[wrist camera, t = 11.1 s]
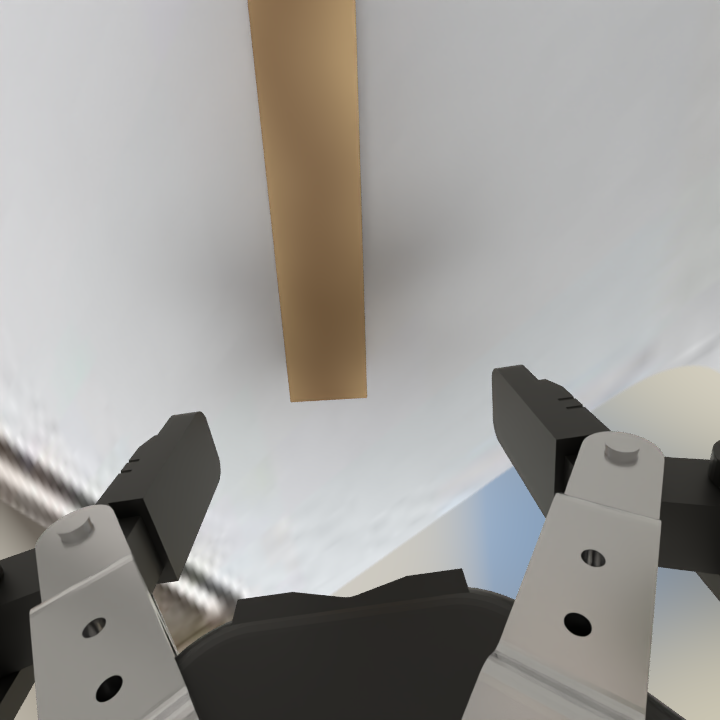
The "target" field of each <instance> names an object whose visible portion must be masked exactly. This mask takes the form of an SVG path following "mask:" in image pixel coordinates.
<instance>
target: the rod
mask: <svg viewBox="0 0 720 720" xmlns="http://www.w3.org/2000/svg"><path fill="white" fill-rule="evenodd" d="M248 10H249V19H250V28H251V38H252V47H253V56H254V66H255V75H256V84H257V93H258V103H259V112H260V121H261V131H262V140H263V149H264V159H265V168H266V177H267V187H268V196H269V205H270V214H271V224H272V233H273V242H274V252H275V261H276V270H277V280H278V289H279V298H280V308H281V317H282V326H283V336H284V345H285V354H286V363H287V373H288V382H289V391H290V401H291V402H302V401H319V400H336V399H352V398H367V381H366V347H365V313H364V280H363V246H362V212H361V178H360V145H359V111H358V77H357V43H356V10H355V0H248Z"/></svg>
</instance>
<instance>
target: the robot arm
mask: <svg viewBox="0 0 720 720" xmlns="http://www.w3.org/2000/svg"><path fill="white" fill-rule="evenodd" d="M492 400H493V424H494V429H495V433H496V436H497V439H498V441H499V443H500V444H501V446H502V448H503V449H504V451H505V453H506V454H507V456H508V457H509V459H510V461H511V462H512V464H513V466H514V467H515V469H516V470H517V472H518V474H519V475H520V477H521V479H522V480H523V482H524V484H525V485H526V487H527V489H528V490H529V492H530V493H531V495H532V497H533V498H534V500H535V502H536V503H537V505H538V507H539V508H540V510H541V511H542V513H543V515H544V516H545V518H546V520H545V523H544V525H543V528H542V531H541V533H540V536H539V538H538V541H537V544H536V546H535V549H534V552H533V554H532V557H531V559H530V562H529V565H528V567H527V570H526V573H525V576H524V578H523V581H522V583H521V586H520V589H519V591H518V594H517V596H516V599H515V600H514V599H511V598H509V597H507V596H504V595H501V594H498V593H495V592H492V591H487V590H483V589H478V588H471V587H468V586H467V583H466V580H465V577H464V573H463V571H462V569H454V570H447V571H441V572H433V573H425V574H418V575H411V576H406V577H403V578H400V579H398V580H395V581H393V582H390V583H387V584H385V585H382V586H380V587H377V588H374V589H372V590H369V591H366V592H364V593H361V594H359V595H356V596H353V597H335V596H326V595H316V594H306V593H297V592H289V593H282V594H275V595H268V596H261V597H254V598H246V599H239V600H238V601H237V605H236V609H235V613H234V617H233V621H230V622H228V623H225V624H223V625H221V626H219V627H217V628H215V629H213V630H212V631H210V632H208V633H207V634H205V635H204V636H202V637H200V638H199V639H197V640H196V641H195V642H193V643H192V644H191V645H189V646H188V647H187V648H186V649H184V650H183V651H182V652H181V653H180V654H178V651H177V649H176V647H175V644H174V642H173V640H172V638H171V635H170V633H169V631H168V628H167V626H166V624H165V621H164V619H163V617H162V614H161V612H160V610H159V608H158V605H157V603H156V601H155V599H154V597H153V594H152V593H153V591H154V588H155V586H156V584H160V583H167V582H174V581H178V580H179V578H180V575H181V573H182V571H183V568H184V566H185V563H186V561H187V558H188V556H189V553H190V551H191V549H192V546H193V544H194V541H195V539H196V536H197V534H198V531H199V529H200V527H201V524H202V522H203V519H204V517H205V514H206V512H207V509H208V507H209V505H210V502H211V500H212V497H213V495H214V492H215V490H216V487H217V485H218V483H219V479H220V472H221V471H220V461H219V457H218V454H217V451H216V447H215V444H214V441H213V438H212V435H211V432H210V429H209V426H208V423H207V420H206V417H205V416H204V414H203V413H202V412H200V411H199V412H192V413H186V414H179V415H173V416H171V417H170V418H169V420H168V421H167V423H166V424H165V425H164V427H163V428H162V429H161V431H160V432H159V434H158V435H156V436H153V437H152V438H151V439H150V440H148V441H147V442H146V443H144V444H143V445H142V446H140V447H139V448H138V449H137V451H136V452H135V453H134V454H133V456H132V457H131V458H130V460H129V463H127V464H126V465H125V466H124V468H123V469H122V470H121V474H118V475H117V477H116V478H115V479H114V481H113V482H112V483H111V485H110V486H109V487H108V488H107V490H106V491H105V492H104V494H103V495H102V496H101V498H100V499H99V500H98V502H97V503H96V504H95V505H92V506H88V507H84V508H81V509H78V510H76V511H74V512H71V513H70V514H68V515H66V516H64V517H62V518H61V519H59V520H58V521H56V522H55V523H53V524H52V525H51V526H50V527H49V528H47V529H46V530H45V532H43V534H42V535H41V536H40V538H39V539H38V541H37V543H36V547H35V548H34V549H31V550H29V551H26V552H23V553H20V554H17V555H14V556H11V557H8V558H6V559H3V560H0V720H14V718H15V716H16V714H17V713H18V711H19V709H20V707H21V706H22V704H23V702H24V700H25V698H26V697H27V695H28V693H29V691H30V690H31V688H32V686H33V684H34V682H35V688H36V700H37V712H38V720H686V719H684V718H683V717H682V716H680V715H679V714H677V713H676V712H675V711H673V710H672V709H670V708H669V707H667V706H666V705H665V704H664V703H662V702H661V701H659V700H658V699H657V698H655V697H654V696H652V695H651V694H650V693H648V692H647V690H648V679H649V678H648V677H649V666H650V654H651V642H652V629H653V618H654V606H655V605H654V604H655V594H656V582H657V570H658V567H663V568H671V569H679V570H687V571H694V572H696V573H697V574H698V575H699V576H700V578H701V579H702V580H703V582H704V583H705V584H706V585H707V586H708V588H709V589H710V590H711V591H712V592H713V594H714V595H715V596H716V597H717V598H718V600H719V601H720V440H719V441H718V442H716V443H715V444H714V446H713V449H712V454H711V459H710V460H703V459H687V458H671V457H664V454H663V452H662V451H661V450H660V448H658V447H657V446H656V445H655V444H654V443H652V442H650V441H649V440H646V439H645V438H642V437H639V436H637V435H633V434H629V433H624V432H615V431H610V430H609V429H608V428H607V427H606V426H605V425H604V424H603V423H602V422H600V421H599V420H598V419H597V418H596V417H595V416H594V415H593V414H592V413H591V412H590V411H589V410H587V409H586V408H585V407H583V406H582V404H581V403H580V402H579V401H578V400H577V399H574V398H573V396H572V395H571V394H570V393H569V392H568V391H567V390H566V389H565V388H564V387H562V386H560V385H558V384H555V383H553V382H551V381H549V380H546V379H543V380H538V379H537V378H536V377H535V376H534V375H533V374H532V373H531V372H530V371H529V370H528V369H527V368H526V367H525V366H524V365H516V366H509V367H502V368H495V369H494V370H493V372H492Z"/></svg>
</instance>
